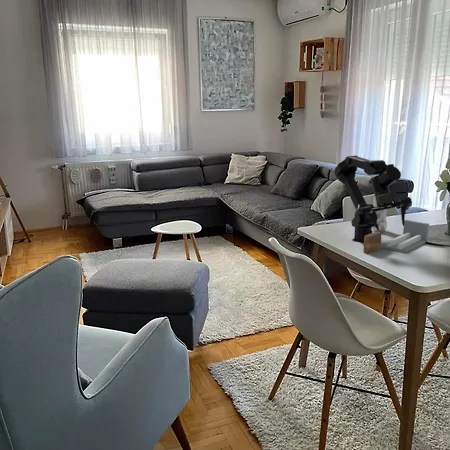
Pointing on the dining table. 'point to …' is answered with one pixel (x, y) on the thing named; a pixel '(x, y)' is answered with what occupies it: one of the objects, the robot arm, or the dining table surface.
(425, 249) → the dining table surface
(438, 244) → the dining table surface
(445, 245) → the dining table surface
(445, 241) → the dining table surface
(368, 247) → the door panel
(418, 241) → the track board
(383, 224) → the plastic bottle
